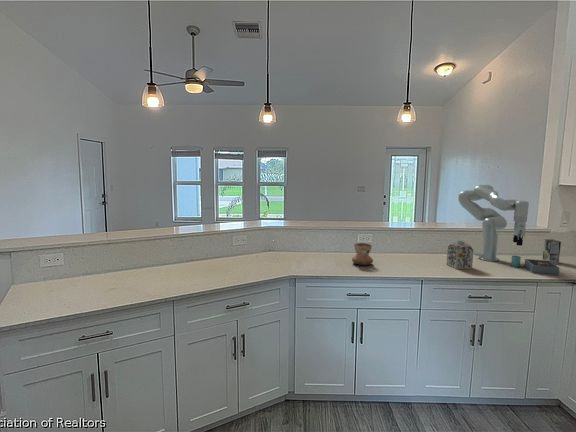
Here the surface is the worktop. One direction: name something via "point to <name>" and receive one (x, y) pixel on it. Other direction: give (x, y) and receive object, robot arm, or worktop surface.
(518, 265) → the teal cylinder
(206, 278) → the worktop surface
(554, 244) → the coffee box
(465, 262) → the decorative jar
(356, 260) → the ceramic jug
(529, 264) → the tote
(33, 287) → the worktop surface
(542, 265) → the walnut cube
